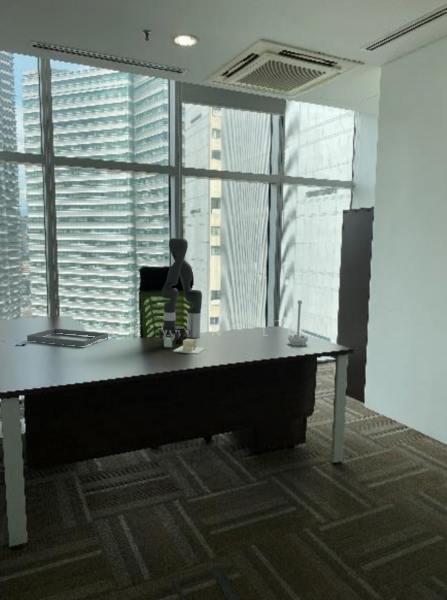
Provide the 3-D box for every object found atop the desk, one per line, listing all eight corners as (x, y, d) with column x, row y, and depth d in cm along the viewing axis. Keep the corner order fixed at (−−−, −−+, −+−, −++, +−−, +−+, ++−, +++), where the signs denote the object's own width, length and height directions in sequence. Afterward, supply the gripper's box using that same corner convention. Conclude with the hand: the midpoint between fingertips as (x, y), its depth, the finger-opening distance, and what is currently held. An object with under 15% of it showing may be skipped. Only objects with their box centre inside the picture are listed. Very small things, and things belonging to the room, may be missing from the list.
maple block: (186, 348, 277) (186, 338, 276) (195, 349, 275) (195, 339, 275) (182, 350, 271) (183, 340, 271) (192, 351, 270) (192, 341, 269)
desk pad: (182, 346, 283) (182, 345, 283) (205, 349, 279) (205, 348, 279) (173, 351, 270) (173, 350, 270) (198, 354, 266) (198, 353, 265)
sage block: (167, 345, 287) (167, 337, 286) (174, 345, 285) (174, 338, 285) (163, 346, 282) (164, 338, 282) (171, 347, 281) (171, 339, 280)
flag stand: (305, 347, 293) (308, 301, 289) (286, 345, 297) (288, 300, 293) (308, 343, 305) (311, 299, 301) (289, 341, 309) (291, 298, 306)
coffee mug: (169, 342, 293) (169, 327, 292) (174, 340, 301) (174, 325, 300) (185, 344, 290) (185, 329, 289) (190, 341, 298) (190, 327, 297)
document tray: (54, 333, 310) (54, 328, 310) (108, 339, 298) (108, 333, 298) (27, 341, 284) (27, 335, 284) (84, 347, 272) (84, 341, 272)
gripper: (182, 319, 283) (181, 345, 285) (161, 317, 287) (161, 343, 289) (177, 320, 276) (177, 347, 278) (156, 319, 280) (156, 345, 282)
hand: (169, 345), depth 284 cm, fingers closed on sage block, 5 cm apart
